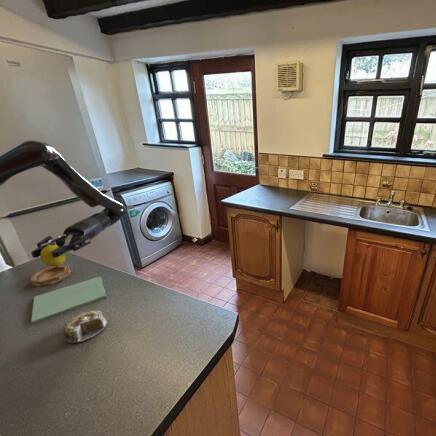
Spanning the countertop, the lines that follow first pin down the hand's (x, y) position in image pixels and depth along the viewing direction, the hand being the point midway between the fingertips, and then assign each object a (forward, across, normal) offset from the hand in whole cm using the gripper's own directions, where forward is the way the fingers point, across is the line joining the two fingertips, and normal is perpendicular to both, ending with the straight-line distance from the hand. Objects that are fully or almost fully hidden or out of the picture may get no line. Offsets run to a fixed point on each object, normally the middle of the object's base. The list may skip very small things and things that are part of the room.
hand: (43, 255), depth 74 cm
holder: (-13, -15, +18) cm, 26 cm away
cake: (+12, +16, +18) cm, 27 cm away
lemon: (-3, 0, +6) cm, 7 cm away
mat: (-1, +1, +18) cm, 18 cm away
